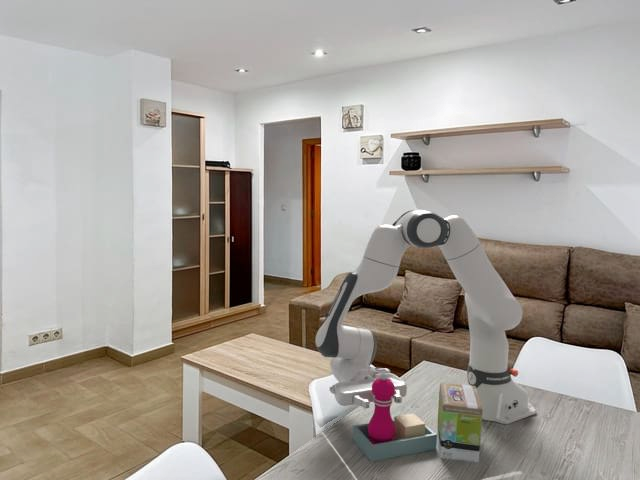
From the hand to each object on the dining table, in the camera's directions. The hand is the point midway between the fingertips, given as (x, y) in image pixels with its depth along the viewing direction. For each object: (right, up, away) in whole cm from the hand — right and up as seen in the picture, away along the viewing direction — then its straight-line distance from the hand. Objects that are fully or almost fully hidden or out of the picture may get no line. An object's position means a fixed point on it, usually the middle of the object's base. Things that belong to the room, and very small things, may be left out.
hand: (383, 403), depth 122 cm
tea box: (+20, -13, +4) cm, 24 cm away
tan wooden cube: (+7, -12, +5) cm, 15 cm away
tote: (+3, -13, +4) cm, 14 cm away
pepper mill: (0, -12, +2) cm, 13 cm away
